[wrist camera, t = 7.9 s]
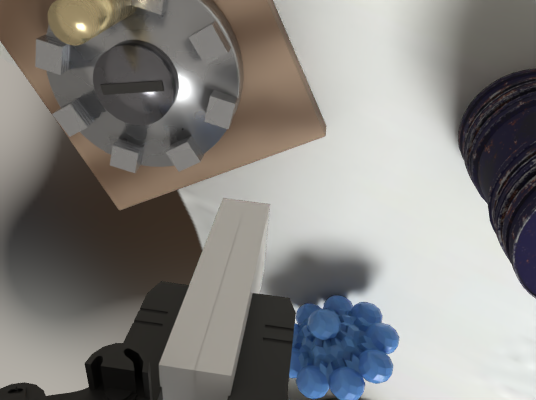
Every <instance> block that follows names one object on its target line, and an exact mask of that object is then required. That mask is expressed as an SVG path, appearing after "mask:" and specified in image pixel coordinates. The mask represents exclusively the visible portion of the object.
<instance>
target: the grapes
mask: <svg viewBox="0 0 536 400" xmlns="http://www.w3.org/2000/svg"><path fill="white" fill-rule="evenodd" d="M296 320H297V323H298V324H294V334H293V343H292V353H291V363H290V372H289V378H296V383H297V386H298V389H299V391H300V392H301V393H302V394H303V395H304V396H305V397H308V398H311V399H317V398H321V397H323V396H324V395H325V394H326V393H327V391H328V390H329V388H330V390H331V392H332V393H333V394H334V395H335V396H336V397H337V398H338V399H339V400H358V399H359V398H360V396H361V395H362V394H363V392H364V387H365V382H364V380H363V378H364V379H366V380H367V381H369V382H372V383H376V384H377V383H382V382H385V381H387V380H388V379H389V377H390V376H391V375H392V371H393V364H392V361H391V359H390V357H389V356H387V355H386V354H390V353H392V352H394V350H395V349H396V348H397V346H398V343H399V336H398V334H397V332H396V330H395V329H394V328H392V327H391V326H390V325H388V324H384V323H382V314H381V311H380V309H379V308H378V307H376V306H375V305H374V304H371V303H368V302H359V303H358V304H356V305H354V307H353V305H352V303H351V301H349V300H348V299H347V298H346V297H343V296H339V295H335V296H331V297H330V298H328V299H327V300H326V301H325V303H324V307H323V309H321V308H320V307H319V306H318V305H314V304H311V303H309V304H304V305H302V306H301V307H300V308H299V309H298V311H297V313H296Z"/></svg>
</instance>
